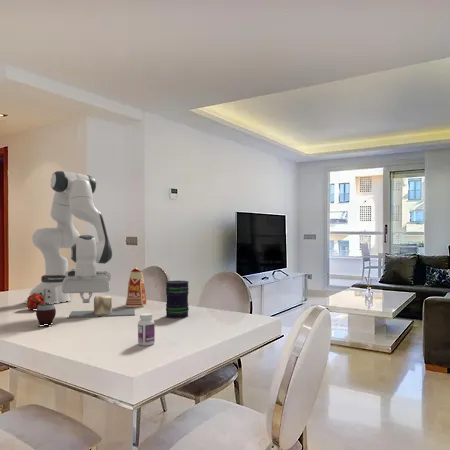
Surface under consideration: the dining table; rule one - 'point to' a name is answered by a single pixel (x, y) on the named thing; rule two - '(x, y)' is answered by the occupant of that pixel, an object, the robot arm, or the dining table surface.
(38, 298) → the dragon fruit
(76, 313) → the mat
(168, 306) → the navy striped can
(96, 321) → the dining table surface
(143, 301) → the milk carton
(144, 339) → the pill bottle
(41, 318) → the mate gourd
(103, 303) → the block
